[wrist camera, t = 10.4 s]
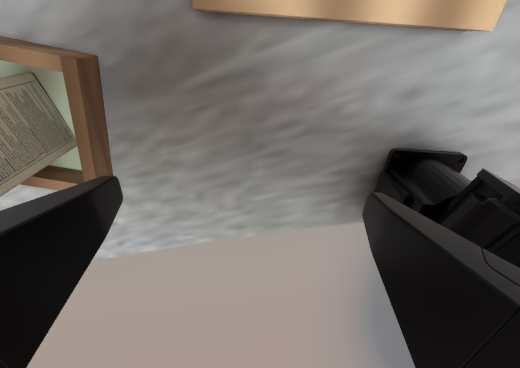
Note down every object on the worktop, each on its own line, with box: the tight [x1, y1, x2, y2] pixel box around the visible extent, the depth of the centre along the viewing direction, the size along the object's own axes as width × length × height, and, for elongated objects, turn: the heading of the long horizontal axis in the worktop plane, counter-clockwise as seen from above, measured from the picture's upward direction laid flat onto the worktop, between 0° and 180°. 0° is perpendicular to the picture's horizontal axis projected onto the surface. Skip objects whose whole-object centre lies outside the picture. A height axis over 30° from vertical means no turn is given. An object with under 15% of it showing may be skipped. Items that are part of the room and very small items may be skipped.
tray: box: [0, 37, 113, 191], centre depth 20 cm, size 11×11×2 cm
